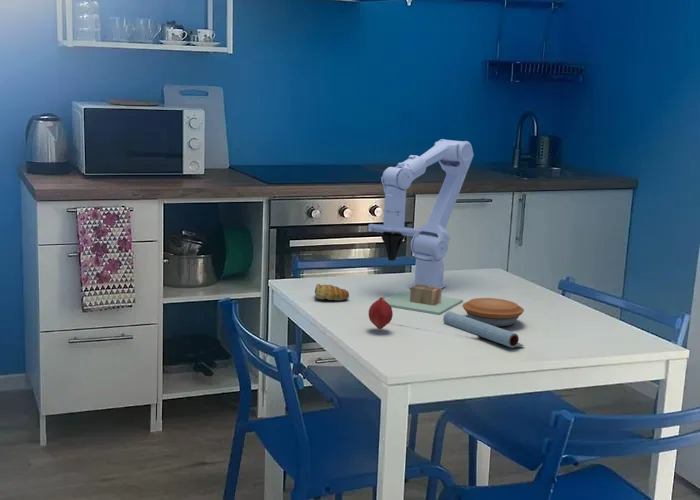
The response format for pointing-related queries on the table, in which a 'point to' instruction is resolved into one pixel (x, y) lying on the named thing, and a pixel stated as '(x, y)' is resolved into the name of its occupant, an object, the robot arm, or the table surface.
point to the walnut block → (425, 294)
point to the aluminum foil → (482, 329)
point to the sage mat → (404, 302)
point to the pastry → (330, 292)
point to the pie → (493, 311)
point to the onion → (380, 313)
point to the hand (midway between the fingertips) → (391, 259)
